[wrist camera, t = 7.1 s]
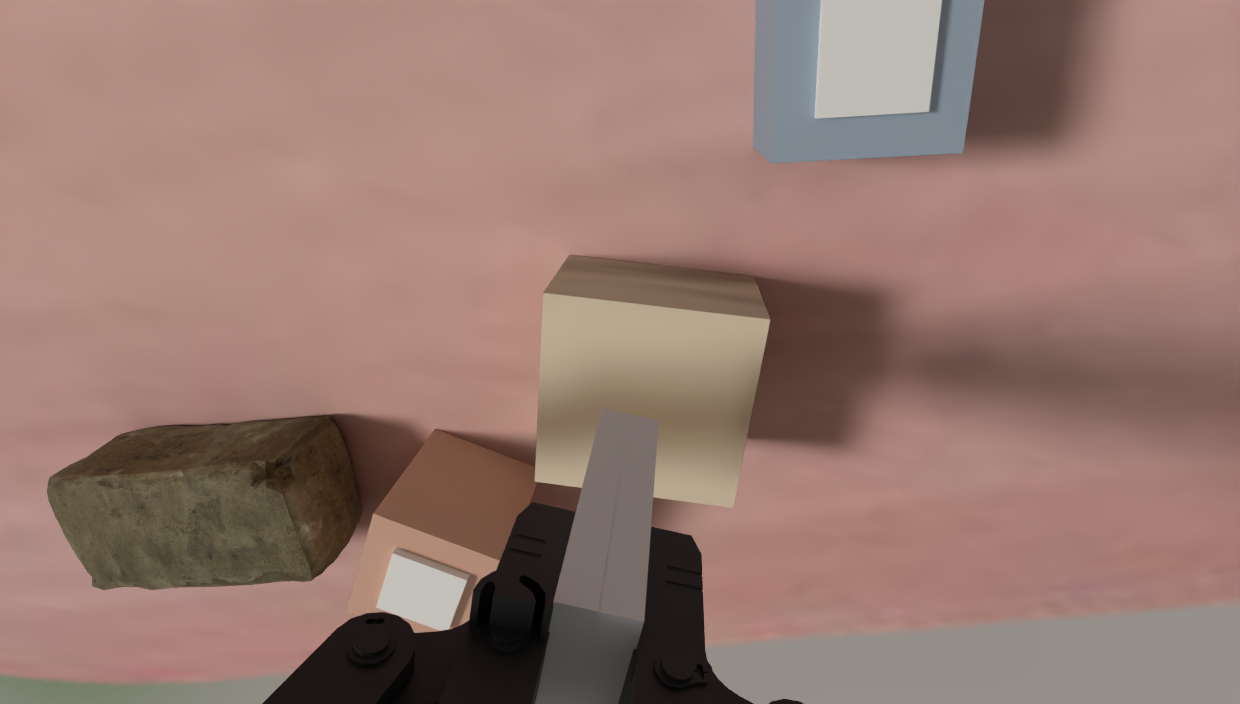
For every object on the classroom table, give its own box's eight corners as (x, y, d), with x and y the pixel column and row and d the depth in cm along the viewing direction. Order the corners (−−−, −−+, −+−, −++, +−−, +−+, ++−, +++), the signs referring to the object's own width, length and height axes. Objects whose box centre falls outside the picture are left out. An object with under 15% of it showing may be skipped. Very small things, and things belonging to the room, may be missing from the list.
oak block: (570, 253, 24) (543, 292, 19) (753, 274, 24) (770, 319, 19) (559, 414, 27) (534, 481, 22) (724, 435, 26) (732, 507, 22)
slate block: (755, -17, 20) (778, -53, 15) (920, -31, 19) (1000, -72, 14) (753, 147, 22) (772, 164, 17) (902, 139, 21) (967, 154, 16)
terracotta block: (435, 428, 27) (369, 518, 22) (542, 469, 28) (505, 569, 22) (409, 513, 29) (342, 617, 24) (509, 550, 30) (467, 662, 24)
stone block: (382, 512, 30) (326, 589, 25) (169, 526, 31) (80, 601, 27) (344, 403, 28) (275, 467, 23) (118, 425, 29) (11, 487, 25)
